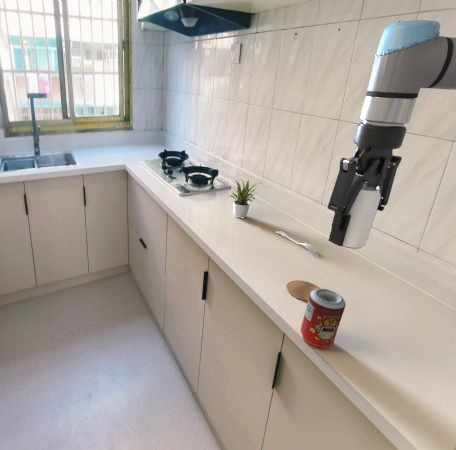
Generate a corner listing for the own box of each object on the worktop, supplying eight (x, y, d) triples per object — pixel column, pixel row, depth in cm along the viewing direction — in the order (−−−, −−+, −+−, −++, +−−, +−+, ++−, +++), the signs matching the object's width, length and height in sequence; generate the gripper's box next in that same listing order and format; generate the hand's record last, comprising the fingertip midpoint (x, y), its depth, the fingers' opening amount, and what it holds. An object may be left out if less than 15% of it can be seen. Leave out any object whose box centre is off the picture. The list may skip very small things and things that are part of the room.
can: (326, 233, 72) (340, 179, 68) (358, 237, 71) (375, 182, 66) (334, 247, 67) (350, 189, 62) (369, 251, 65) (389, 192, 61)
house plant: (266, 217, 145) (272, 180, 138) (249, 226, 135) (256, 187, 129) (236, 208, 154) (241, 173, 147) (219, 216, 144) (224, 179, 138)
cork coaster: (323, 286, 97) (323, 285, 97) (325, 305, 89) (325, 304, 89) (286, 278, 101) (286, 277, 100) (285, 296, 92) (285, 295, 92)
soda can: (310, 353, 73) (323, 306, 68) (293, 330, 80) (304, 287, 75) (339, 350, 74) (354, 304, 69) (320, 328, 81) (333, 285, 76)
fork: (279, 237, 132) (280, 230, 132) (320, 256, 114) (321, 249, 113) (273, 237, 132) (274, 231, 131) (313, 257, 113) (314, 250, 112)
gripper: (397, 119, 66) (363, 226, 75) (324, 121, 59) (297, 239, 68) (439, 125, 60) (397, 241, 69) (364, 127, 53) (328, 257, 62)
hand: (347, 240), depth 69 cm, fingers closed on can, 6 cm apart
